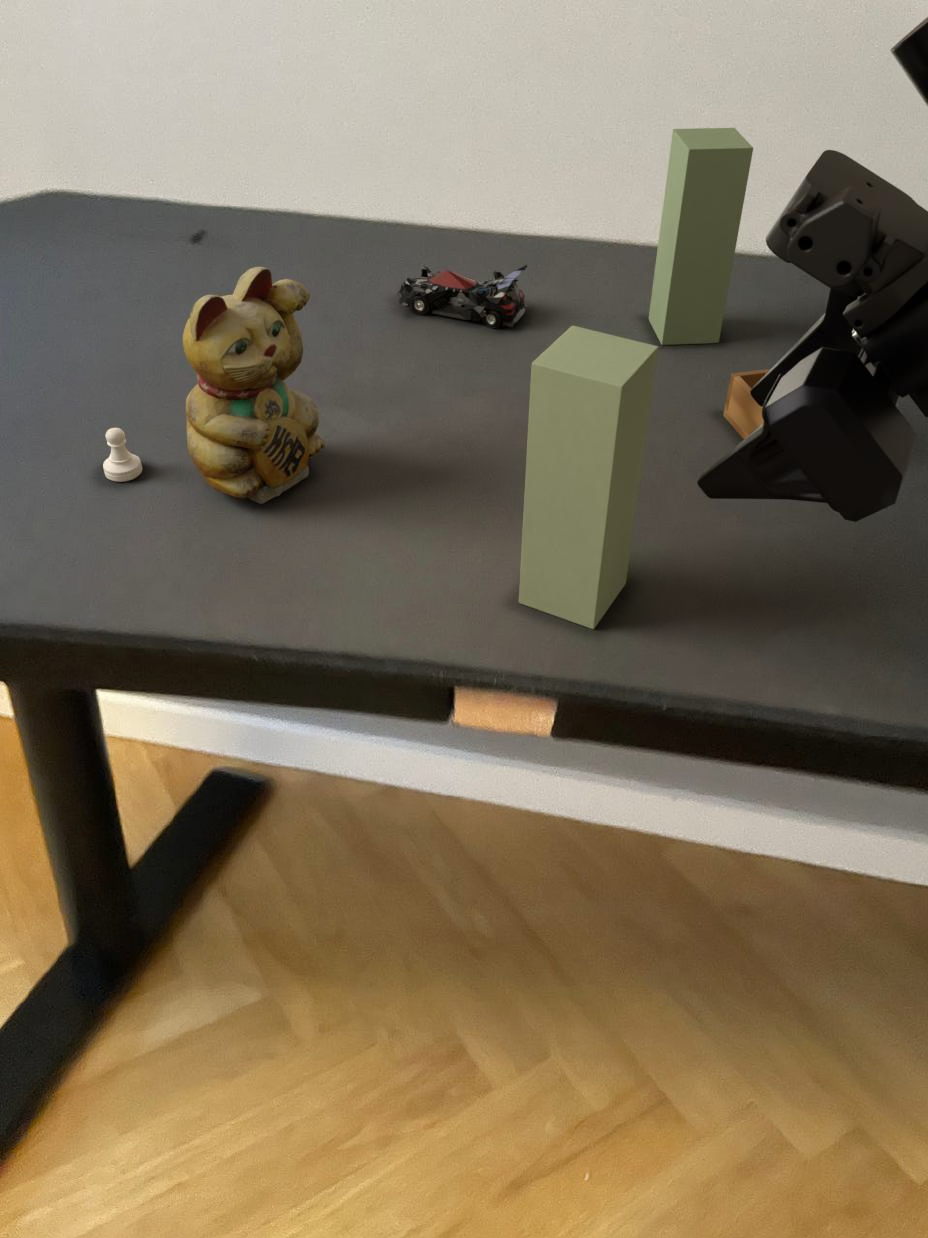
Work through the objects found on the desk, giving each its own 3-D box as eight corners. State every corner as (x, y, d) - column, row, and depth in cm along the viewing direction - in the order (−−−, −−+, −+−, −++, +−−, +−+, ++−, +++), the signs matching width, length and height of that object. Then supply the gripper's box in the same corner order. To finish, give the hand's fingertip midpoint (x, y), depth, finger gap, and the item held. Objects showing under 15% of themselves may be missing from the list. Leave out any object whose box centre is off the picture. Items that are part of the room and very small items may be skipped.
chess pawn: (127, 458, 77) (117, 415, 74) (150, 471, 75) (140, 427, 73) (97, 473, 75) (86, 430, 73) (120, 486, 74) (109, 443, 72)
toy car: (509, 334, 92) (511, 289, 89) (383, 311, 95) (381, 266, 93) (532, 306, 96) (534, 262, 94) (410, 285, 100) (409, 241, 97)
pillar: (703, 317, 95) (734, 127, 84) (718, 342, 91) (753, 147, 81) (648, 319, 94) (672, 128, 84) (661, 345, 91) (689, 148, 80)
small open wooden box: (855, 452, 78) (868, 408, 76) (765, 465, 77) (775, 421, 74) (807, 404, 83) (817, 362, 81) (722, 415, 82) (730, 373, 80)
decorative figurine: (254, 528, 70) (221, 314, 60) (162, 490, 74) (117, 281, 64) (342, 461, 76) (326, 257, 67) (253, 429, 80) (225, 229, 70)
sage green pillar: (626, 583, 66) (659, 346, 56) (593, 630, 63) (622, 386, 52) (553, 559, 68) (572, 324, 58) (518, 603, 65) (531, 362, 54)
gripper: (955, 36, 47) (689, 245, 58) (871, 178, 35) (556, 408, 46) (1090, 236, 49) (810, 400, 61) (1056, 435, 37) (713, 594, 49)
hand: (730, 441), depth 54 cm, fingers open, 9 cm apart
